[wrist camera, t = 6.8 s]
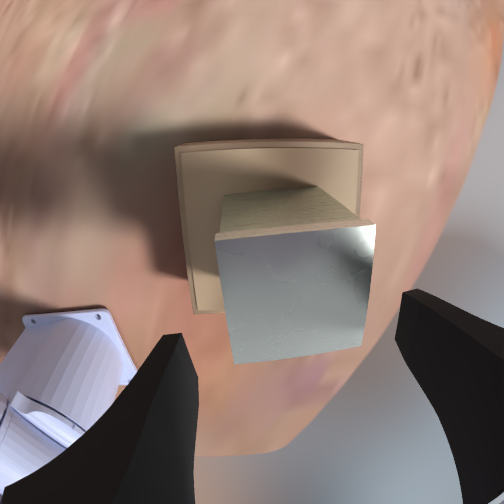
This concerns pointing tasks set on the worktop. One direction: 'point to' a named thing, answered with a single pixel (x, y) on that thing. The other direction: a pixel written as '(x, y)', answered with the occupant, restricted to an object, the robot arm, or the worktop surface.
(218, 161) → the tan flat square box
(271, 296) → the tea tin
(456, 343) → the robot arm
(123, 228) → the worktop surface
